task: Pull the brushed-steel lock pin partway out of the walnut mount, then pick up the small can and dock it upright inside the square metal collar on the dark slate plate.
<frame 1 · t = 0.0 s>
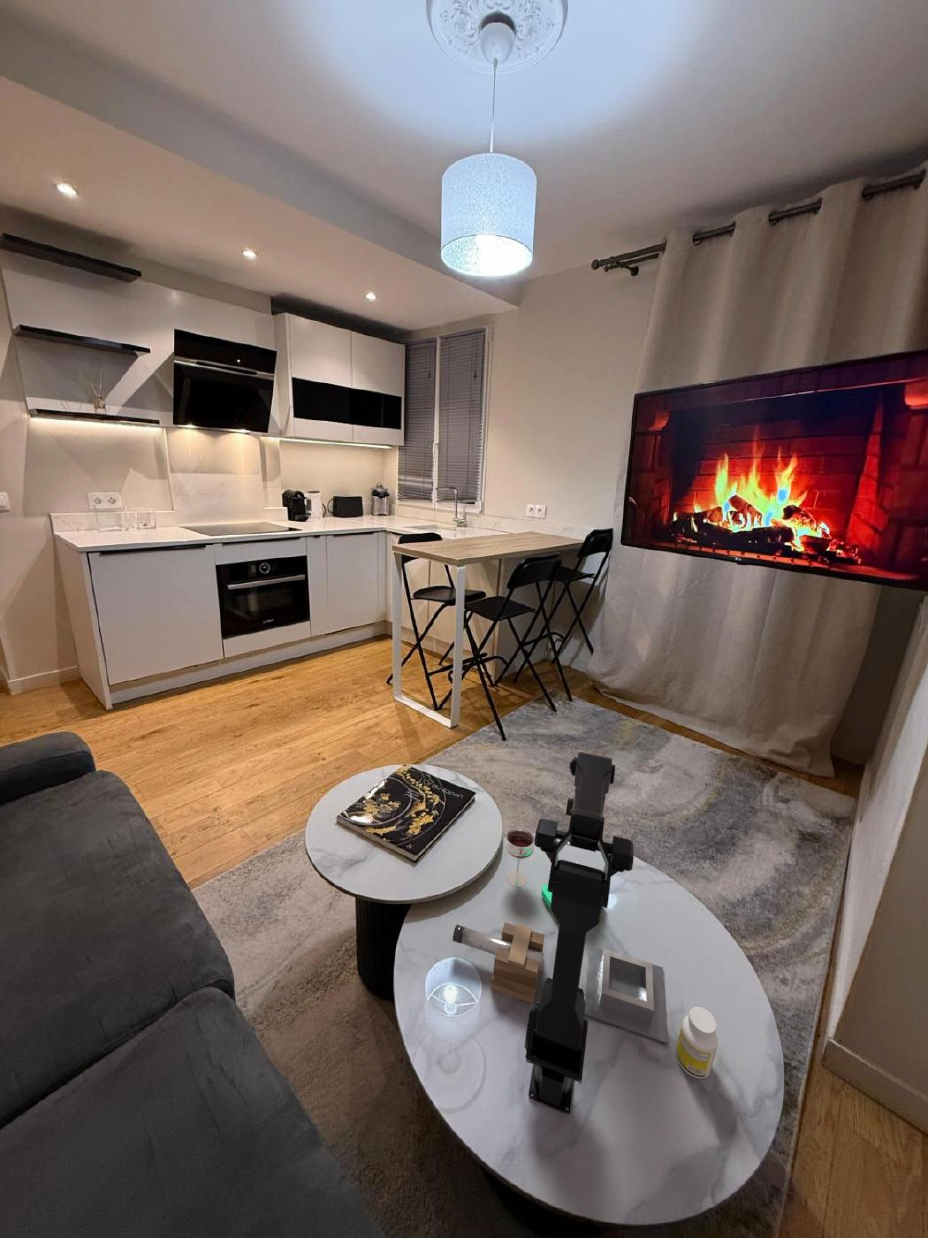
hand: (578, 876, 100), 15 cm above the table, fingers open, 9 cm apart
supplement bottle: (692, 1061, 82), on the table
pin: (497, 947, 95), point 4 cm above the table, slide at 0.0 cm
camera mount: (570, 902, 111), on the table
mount: (517, 971, 95), on the table
wineglass: (516, 879, 117), on the table
socket: (624, 991, 92), on the table
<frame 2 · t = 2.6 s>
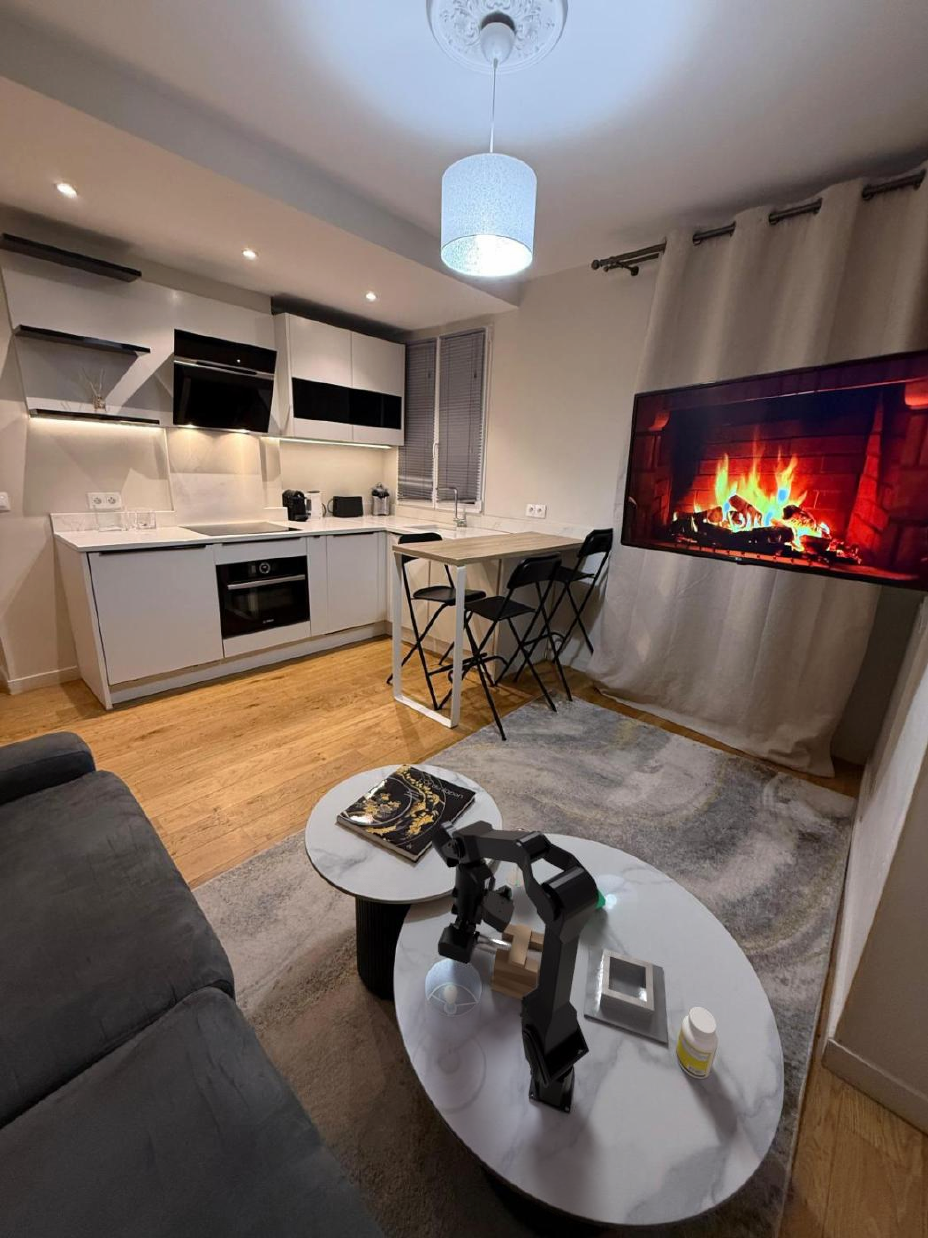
hand: (467, 944, 98), 3 cm above the table, fingers closed on pin, 3 cm apart
pin: (497, 947, 95), point 4 cm above the table, slide at 0.0 cm, touching gripper
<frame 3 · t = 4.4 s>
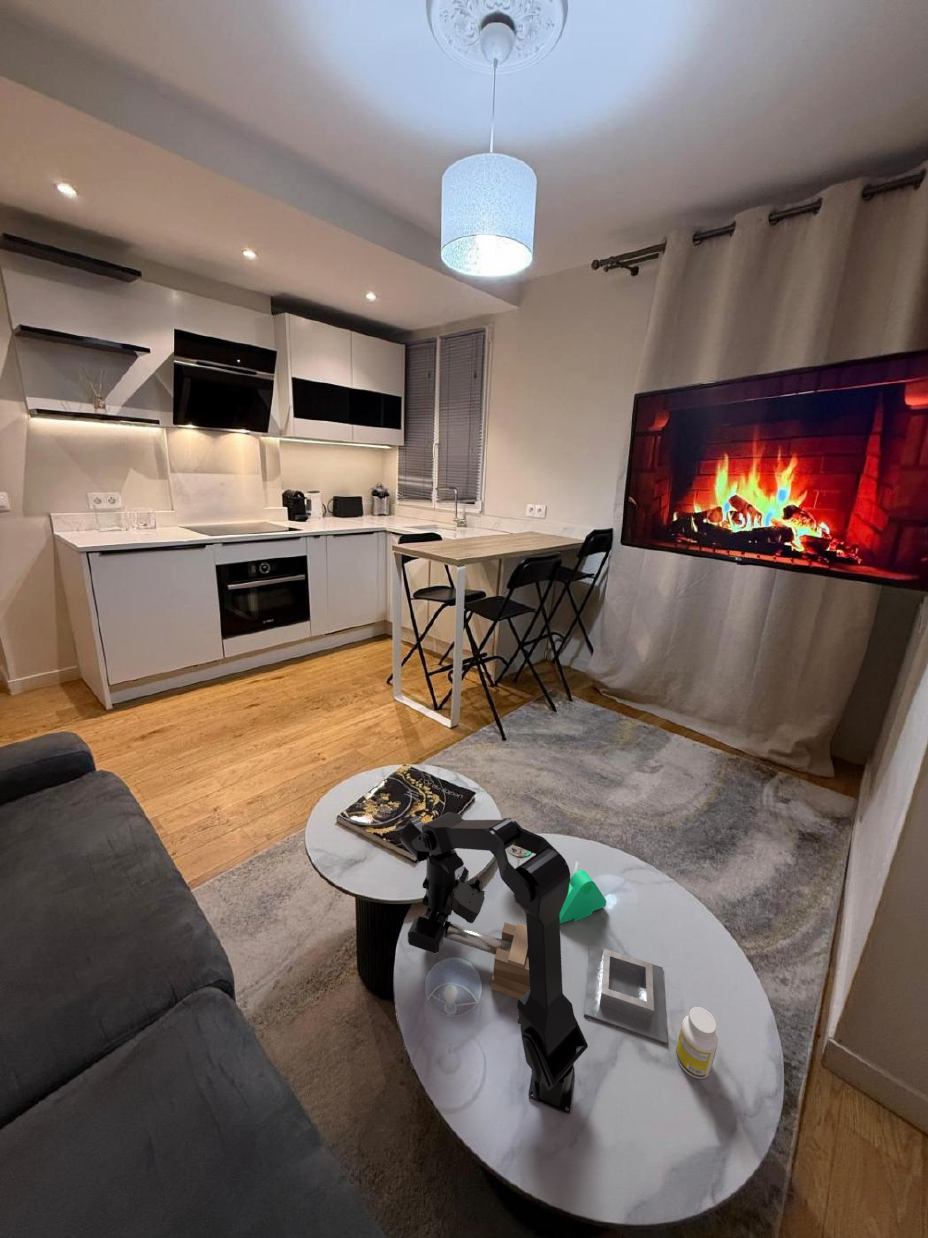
hand: (439, 935, 99), 3 cm above the table, fingers closed on pin, 3 cm apart
pin: (468, 937, 97), point 4 cm above the table, slide at 5.9 cm, touching gripper
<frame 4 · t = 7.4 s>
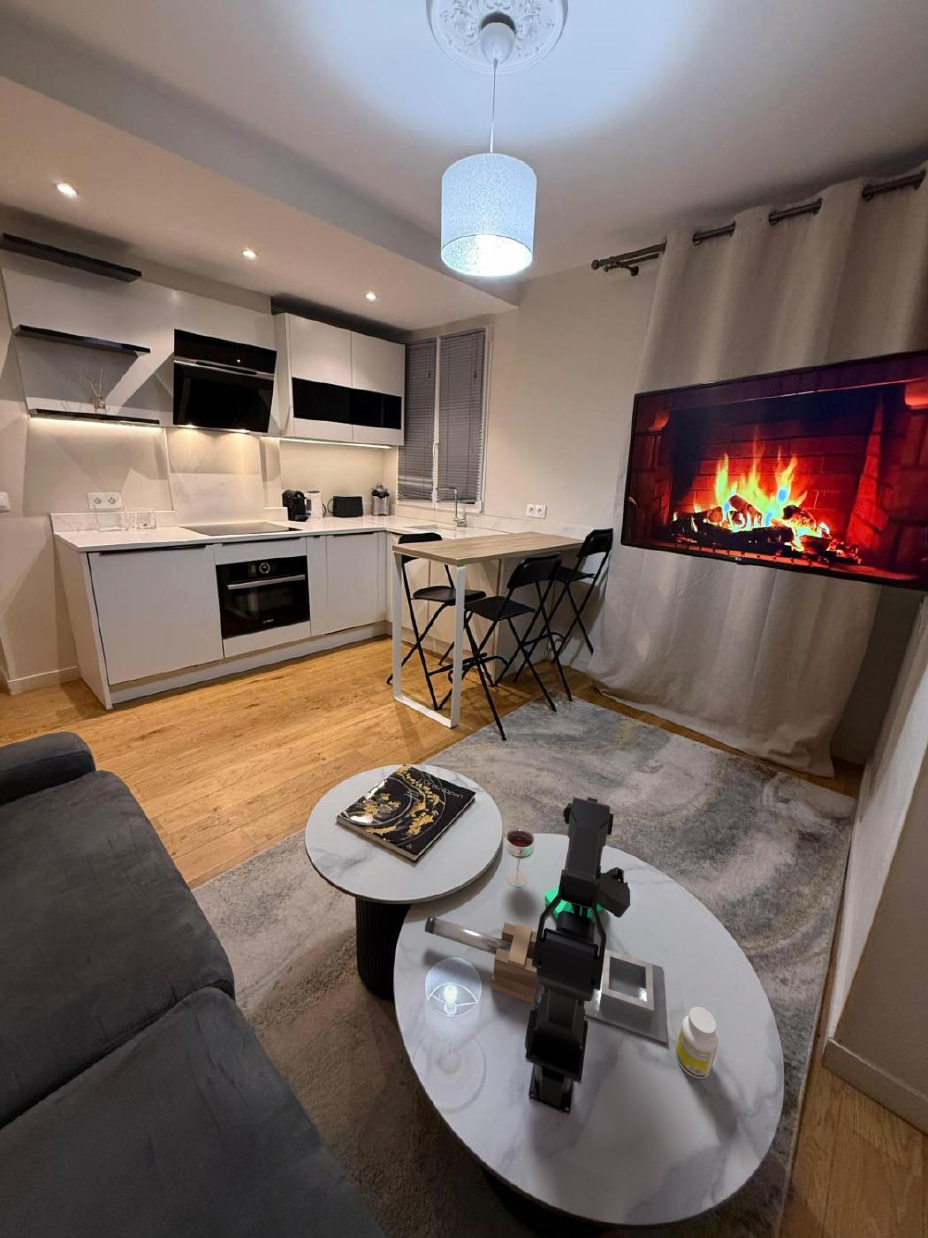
hand: (573, 931, 91), 12 cm above the table, fingers open, 9 cm apart
pin: (468, 937, 97), point 4 cm above the table, slide at 5.9 cm
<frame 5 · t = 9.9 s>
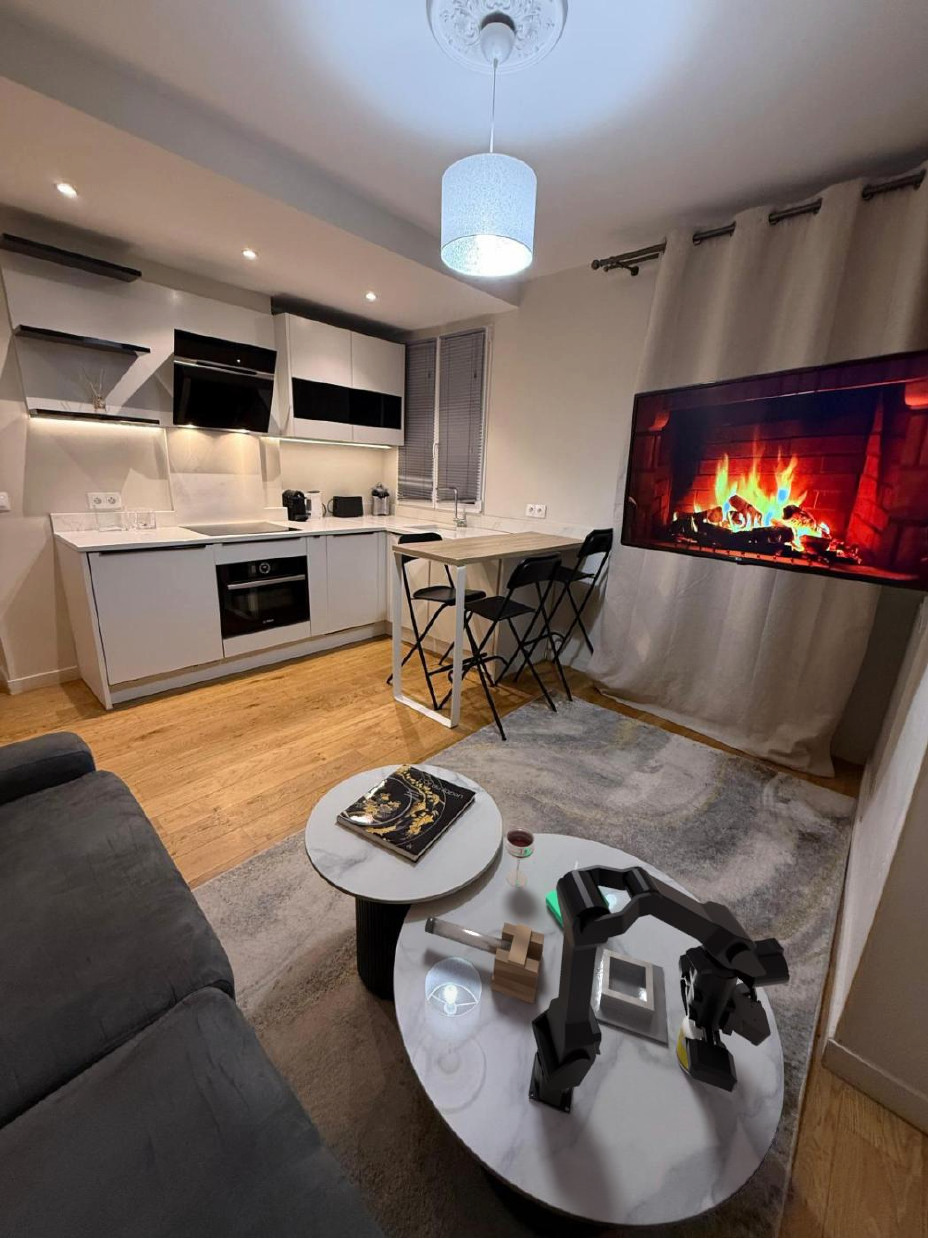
hand: (695, 1050, 81), 3 cm above the table, fingers closed on supplement bottle, 5 cm apart
supplement bottle: (692, 1061, 82), on the table, touching gripper
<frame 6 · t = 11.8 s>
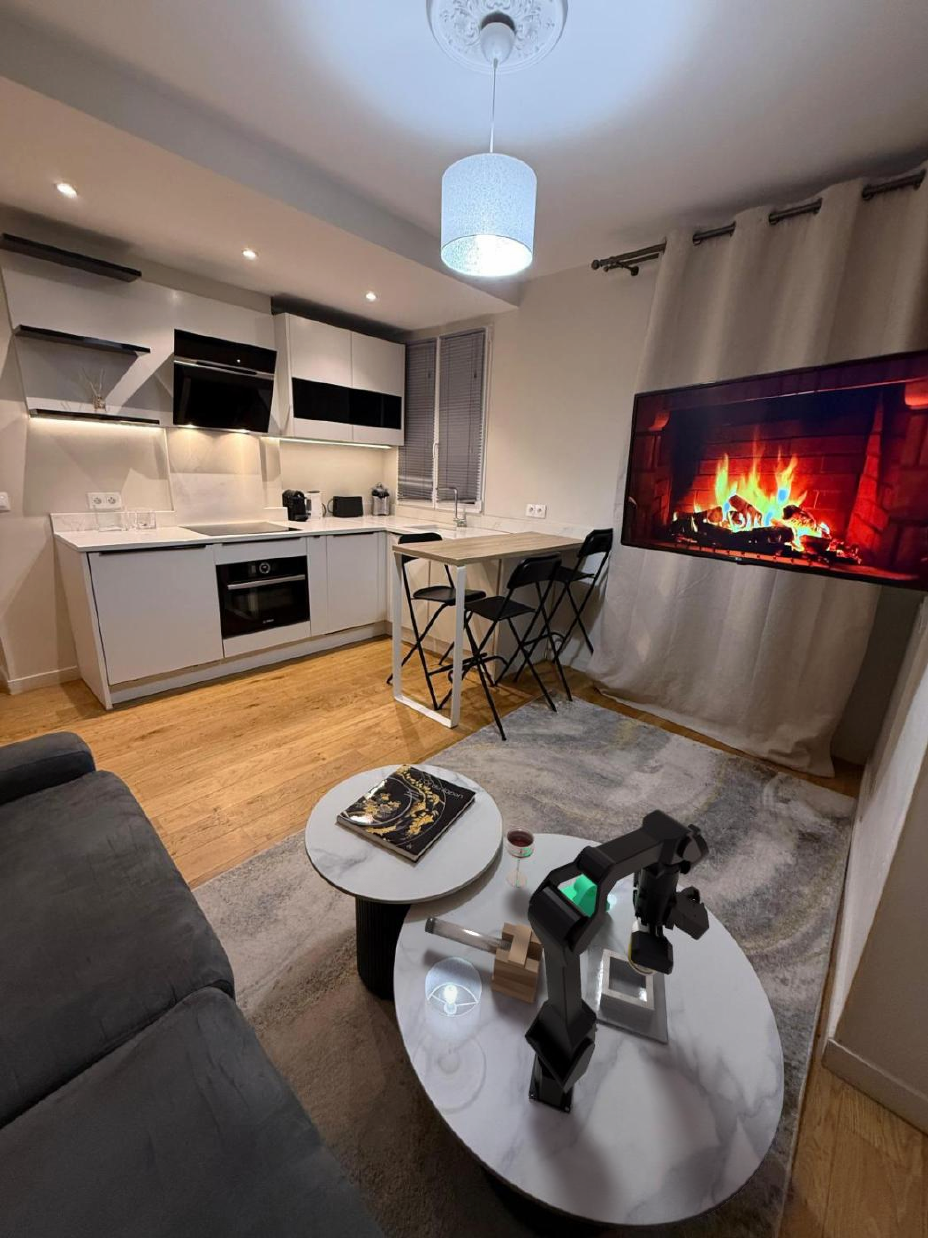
hand: (644, 951, 87), 12 cm above the table, fingers closed on supplement bottle, 5 cm apart
supplement bottle: (642, 963, 88), point 10 cm above the table, touching gripper
when the fingers open (4 cm above the table, at t = 13.9 s): supplement bottle drops 1 cm, resting on socket.
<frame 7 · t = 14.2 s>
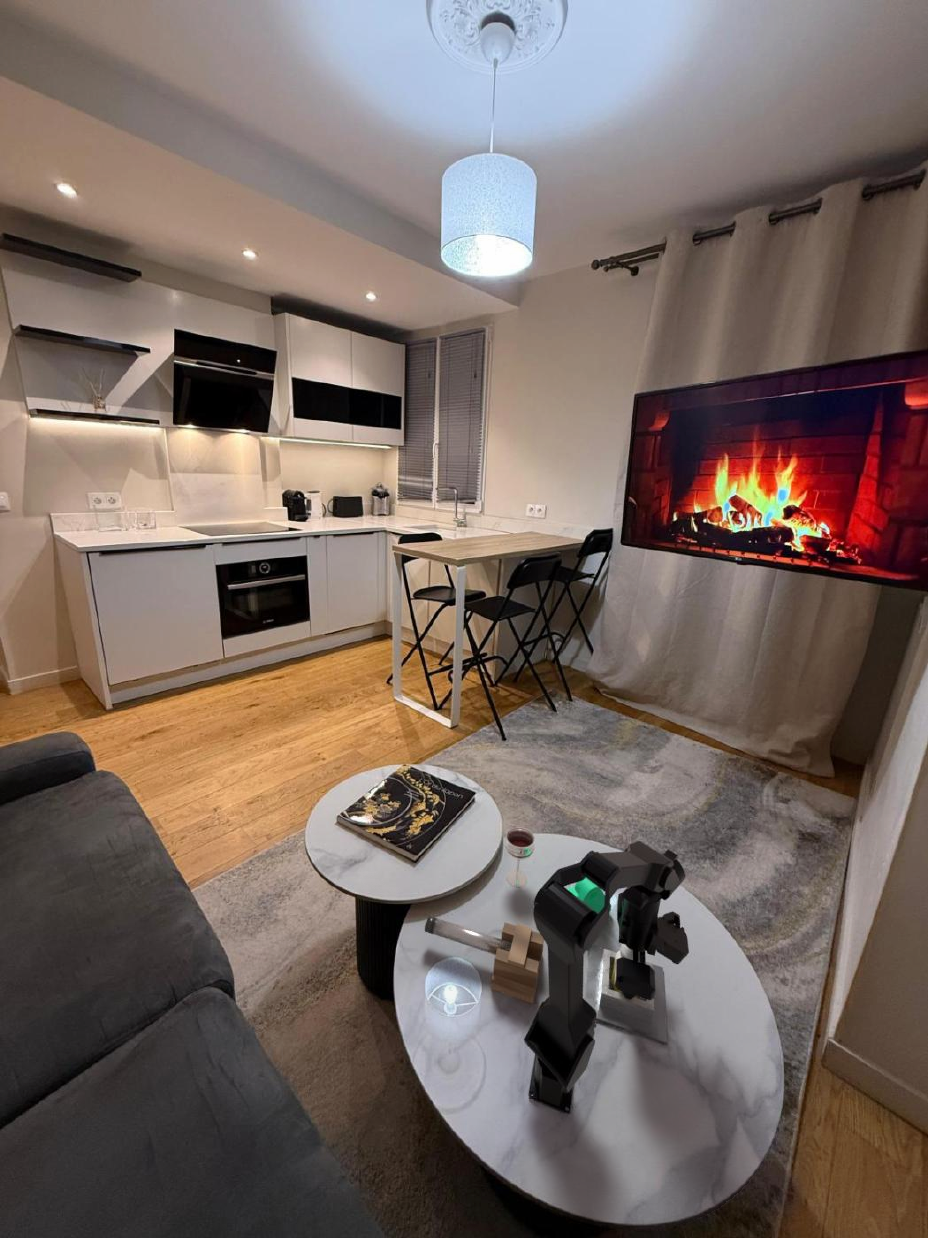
hand: (628, 974, 91), 4 cm above the table, fingers open, 9 cm apart
supplement bottle: (625, 990, 92), resting on socket
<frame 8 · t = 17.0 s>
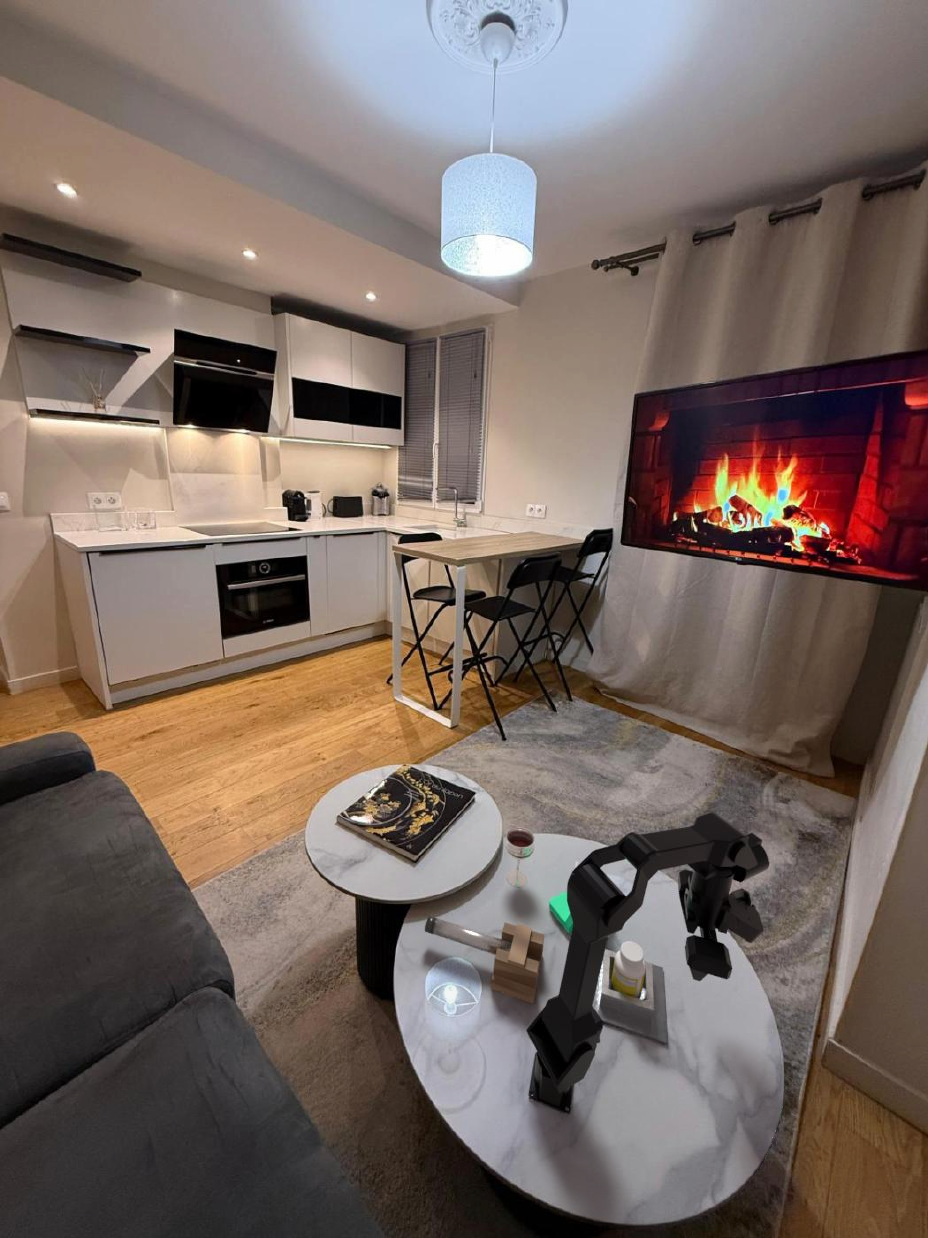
hand: (693, 955, 87), 12 cm above the table, fingers open, 9 cm apart
at the end: supplement bottle 0.1 cm off-centre on the socket, point 0.4 cm above the socket's base; supplement bottle tilted 0°; pin slide at 5.9 cm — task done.
